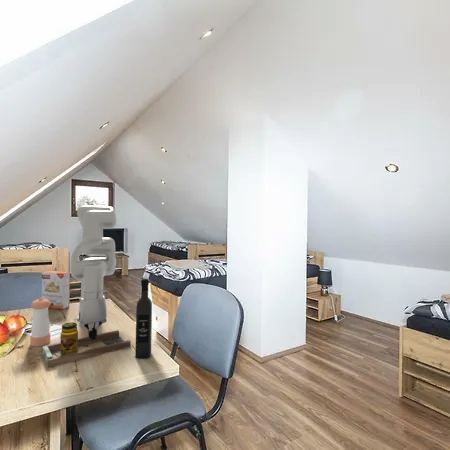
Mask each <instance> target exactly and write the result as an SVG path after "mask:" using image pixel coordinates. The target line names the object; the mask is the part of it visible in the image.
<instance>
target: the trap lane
mask: <svg viewBox="0 0 450 450" xmlns="http://www.w3.org/2000/svg"><path fill="white" fill-rule="evenodd" d="M100 341H101V342H103V343H104V344H105V345H102V346H98V347H93V348H89V349H84V350H80V351H79V352H75V353H71V354H67V355H62V356H54V357H53V354H52V353H53V352H58V351H60V347H61V346H60V342H55V343H49V344H46V345H43V346H41V354H42V356H43V358H44V359H43V360H44V361H45V362H46V364H47V368H52V367H56V366H60V365H65V364H69V363H72V362H76V361H79V360H80V361H81V360H83V359H88V358H91V357H96V356H99V355H104V354H107V353H111V352H116V351H120V350H124V349H127V348H131V347H132V346H131V344H132V343H131V339H127V340H124V339H122V337H120V331H119V330H118V329H117V330H112V331H107V332H103V333H97V336H96V339H93V340H91V339H90V338H89V337H88V336H83V337H78V347H79V346H83V345H88V344H92V343H98V342H100Z"/></svg>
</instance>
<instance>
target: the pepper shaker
mask: <svg viewBox="0 0 450 450" xmlns="http://www.w3.org/2000/svg"><path fill="white" fill-rule="evenodd" d="M30 306H31V309H32V322H31V328H30V329H31V331H30V332H31V335H30V336H29V337H30V339H29V340H30V341H29V342H30V343H29V344H30V346H31V347H42V346H45V345H49V344H51V333H50V329H51V328H50V327H51V326H50V319H49V318H50V317H49V308H48V307H49V306H50V301H49V300H47V299H43V298H42V297H39V298H38V299H35V300H33V301H32V302H31V304H30Z"/></svg>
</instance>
